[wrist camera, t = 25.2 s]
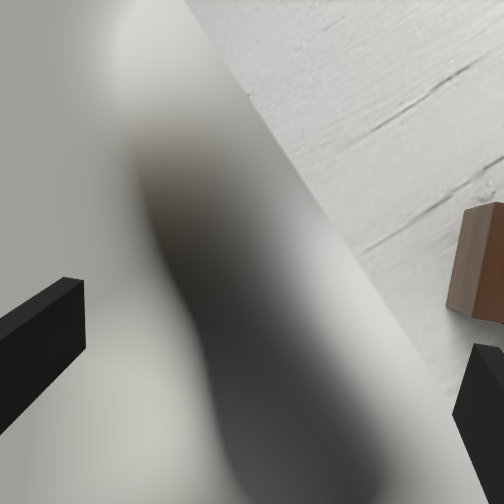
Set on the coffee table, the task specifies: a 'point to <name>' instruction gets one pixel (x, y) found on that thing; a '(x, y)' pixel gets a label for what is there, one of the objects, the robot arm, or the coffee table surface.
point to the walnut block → (480, 265)
